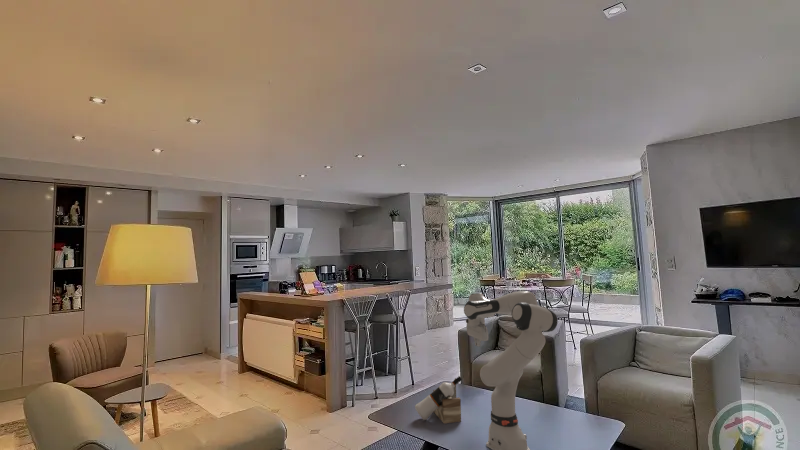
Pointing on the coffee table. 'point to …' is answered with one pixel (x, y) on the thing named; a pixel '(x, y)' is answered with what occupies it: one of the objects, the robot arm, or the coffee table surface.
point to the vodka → (436, 398)
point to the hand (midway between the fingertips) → (477, 346)
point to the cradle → (449, 410)
